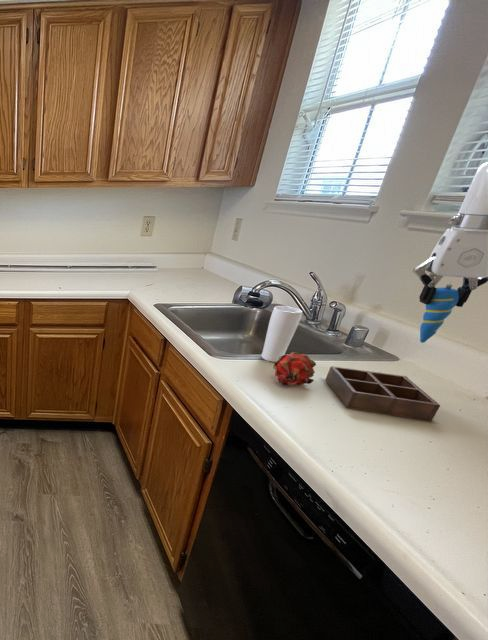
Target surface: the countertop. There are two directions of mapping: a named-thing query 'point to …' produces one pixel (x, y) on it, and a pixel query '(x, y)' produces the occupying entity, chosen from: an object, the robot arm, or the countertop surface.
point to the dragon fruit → (294, 369)
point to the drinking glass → (280, 332)
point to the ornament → (438, 311)
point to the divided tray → (381, 393)
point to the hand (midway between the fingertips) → (440, 303)
